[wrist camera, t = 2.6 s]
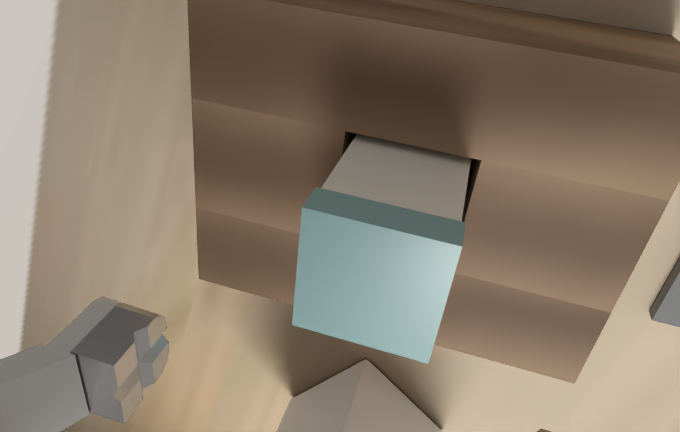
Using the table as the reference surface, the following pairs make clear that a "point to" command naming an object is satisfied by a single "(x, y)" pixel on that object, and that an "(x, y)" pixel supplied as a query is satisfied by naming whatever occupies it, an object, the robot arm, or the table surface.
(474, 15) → the block
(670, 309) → the mat
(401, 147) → the plug
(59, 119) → the table surface
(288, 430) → the milk carton
